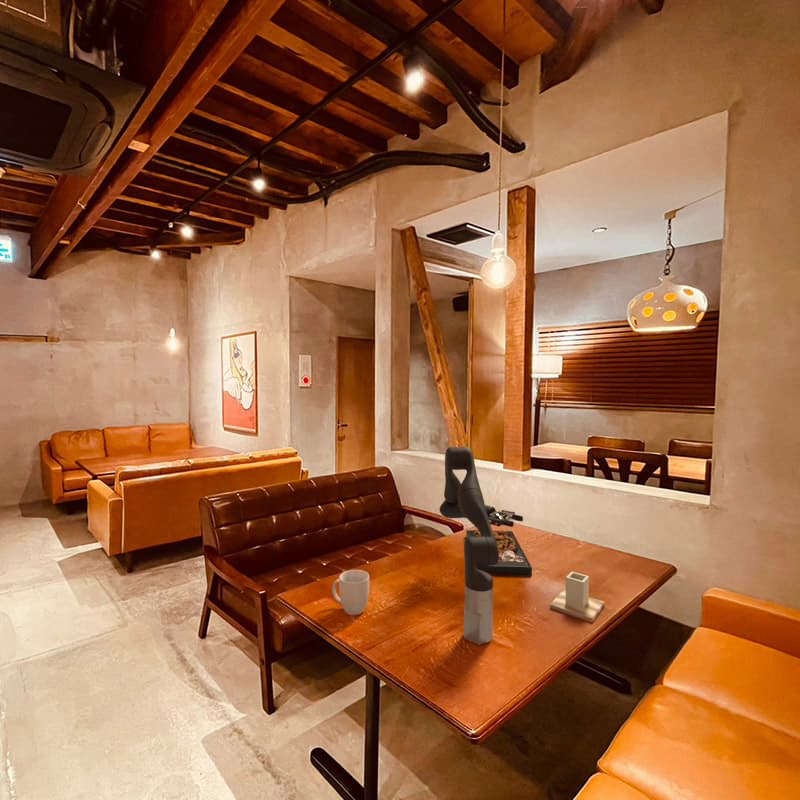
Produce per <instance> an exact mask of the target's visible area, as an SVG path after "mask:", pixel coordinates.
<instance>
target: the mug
mask: <svg viewBox="0 0 800 800" xmlns="http://www.w3.org/2000/svg"><path fill="white" fill-rule="evenodd" d="M338 577H339V578H337V579H336V580H335V581H334V582H333V584H332V588H331V589H332V590H331V591H332V596H333V598H334V599H335V600H336V601H337V602H338V603H341V607H342V608H343V609H342V610H343V611H344V612H345V613H346V614H347V615H349V616H358V615H360V614H361V615H362V613H363V612H364V611H365V609H366V608H367V604H368V603H369V602H368V601H369V597H370V575H369V573H368V572H367V571H365V570H363V569H349V570H346V571H343V572H342V573H340V575H339V576H338ZM337 584H338V585H339V589H338V591H339V595H338V594H337V591H336V590H337V588H336V587H337Z"/></svg>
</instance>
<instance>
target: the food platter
mask: <svg viewBox="0 0 800 800" xmlns="http://www.w3.org/2000/svg"><path fill="white" fill-rule="evenodd" d="M492 531H493V534H494V536H495V539H496V542H497V546H498V550H499V561H498V563H497V564H496V565H492V566H476V569H478V570H481V571H483V572H486V573H488V574H490V575H491V576H495V575H496V576H520V577H521V576H525V577H527V576H528V577H529V576H530V577H531V576H533V567H532V565H531V563H530V562H529V560H528V558H527V556H526V554H525V552H524V550H523V549H522V547H521V545H520V543H519V541H518V538H517V537H516V536H515V534H514V532H513V530H504V529H501V530H492ZM465 532H466V533H465V534H466V535H465V539H466V538H467V537H478V536H481V534H480V532H479V531H478V529H466V531H465Z"/></svg>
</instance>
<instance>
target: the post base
mask: <svg viewBox="0 0 800 800" xmlns="http://www.w3.org/2000/svg"><path fill="white" fill-rule="evenodd" d="M565 601H566V588H565V589H563V590H562V591H561V592H560V593H559V595H557V597H555V599H554V600H553V601H551V602H550V604H549V608H550V609H552V610H555V611H558V612H561V613H563V614H566V615H568V616H571V617H574V618H578V619H579V620H580V619H581V620H583V621H587V622H589V623H593V622H594V621H595V619H596V618H597V617H598V615H599V614H600V612H601V611H602V610H603V608H604V607H605V601H604V600H600V599H597V598H594V597H591V596H589V603H588V604H587V605H586V606H585V608H584V609H581V608H578V607H575V606H572V605H569V604H566V603H565Z"/></svg>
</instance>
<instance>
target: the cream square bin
mask: <svg viewBox="0 0 800 800" xmlns="http://www.w3.org/2000/svg"><path fill="white" fill-rule="evenodd" d="M565 590H566V601H565V603H566V604H569V605H572V606H575V607H578V608H581V609H584V608H585V606H586V605H587V604H588V603H589V597H590V596H589V595H590V575H586V574H582V573H578V572H576V571H571V572H569V574H567V576H565Z"/></svg>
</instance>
